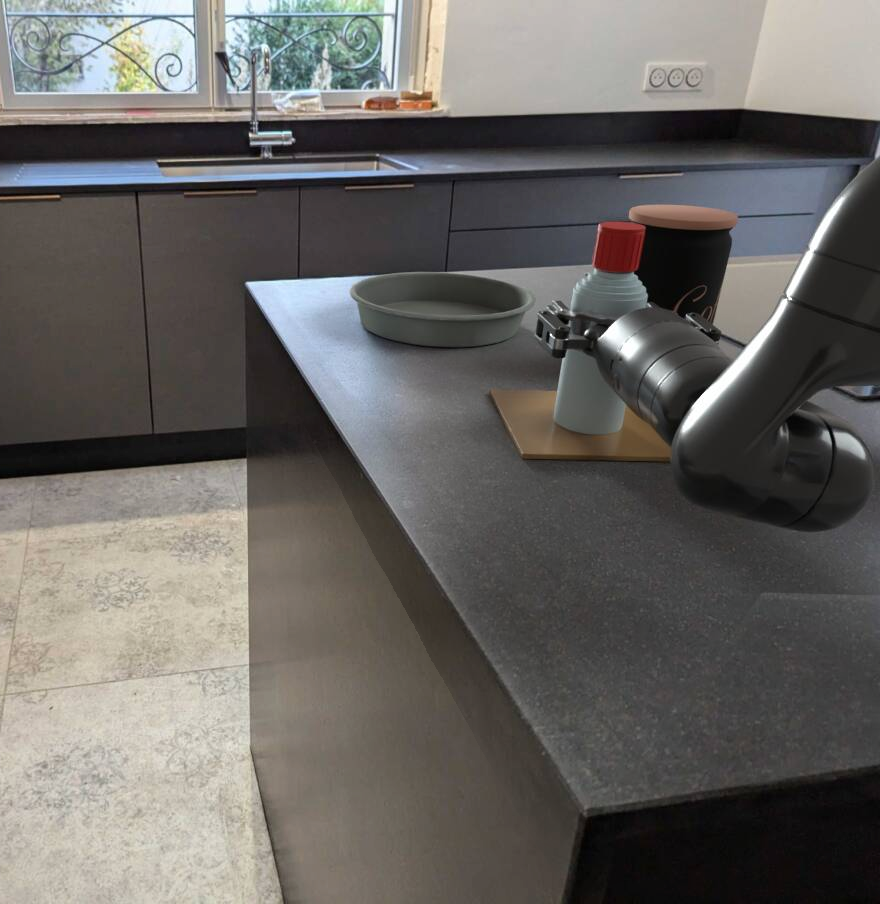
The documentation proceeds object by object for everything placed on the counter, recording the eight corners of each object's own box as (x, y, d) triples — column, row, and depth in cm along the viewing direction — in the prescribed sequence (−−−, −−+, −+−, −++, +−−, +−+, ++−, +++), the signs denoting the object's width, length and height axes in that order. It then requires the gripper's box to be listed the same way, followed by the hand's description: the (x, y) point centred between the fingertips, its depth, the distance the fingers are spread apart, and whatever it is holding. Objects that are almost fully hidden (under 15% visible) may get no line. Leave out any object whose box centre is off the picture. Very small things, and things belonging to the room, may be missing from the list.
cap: (629, 262, 76) (636, 221, 74) (644, 272, 72) (653, 230, 71) (585, 262, 76) (592, 221, 75) (599, 272, 73) (606, 229, 71)
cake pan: (564, 323, 113) (569, 290, 111) (467, 366, 97) (471, 329, 95) (416, 291, 128) (418, 262, 126) (311, 324, 112) (312, 291, 110)
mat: (638, 396, 88) (639, 392, 88) (701, 462, 74) (702, 457, 74) (488, 394, 89) (489, 389, 89) (521, 458, 74) (522, 453, 74)
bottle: (609, 409, 84) (644, 224, 76) (631, 435, 78) (672, 237, 70) (545, 408, 84) (574, 223, 76) (563, 434, 78) (595, 236, 70)
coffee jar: (666, 395, 89) (704, 224, 81) (582, 368, 96) (609, 210, 89) (718, 375, 94) (758, 214, 87) (634, 351, 102) (664, 201, 94)
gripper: (770, 323, 62) (683, 272, 76) (578, 321, 62) (528, 271, 77) (745, 415, 65) (667, 350, 79) (563, 412, 65) (518, 347, 80)
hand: (599, 311), depth 78 cm, fingers open, 8 cm apart
